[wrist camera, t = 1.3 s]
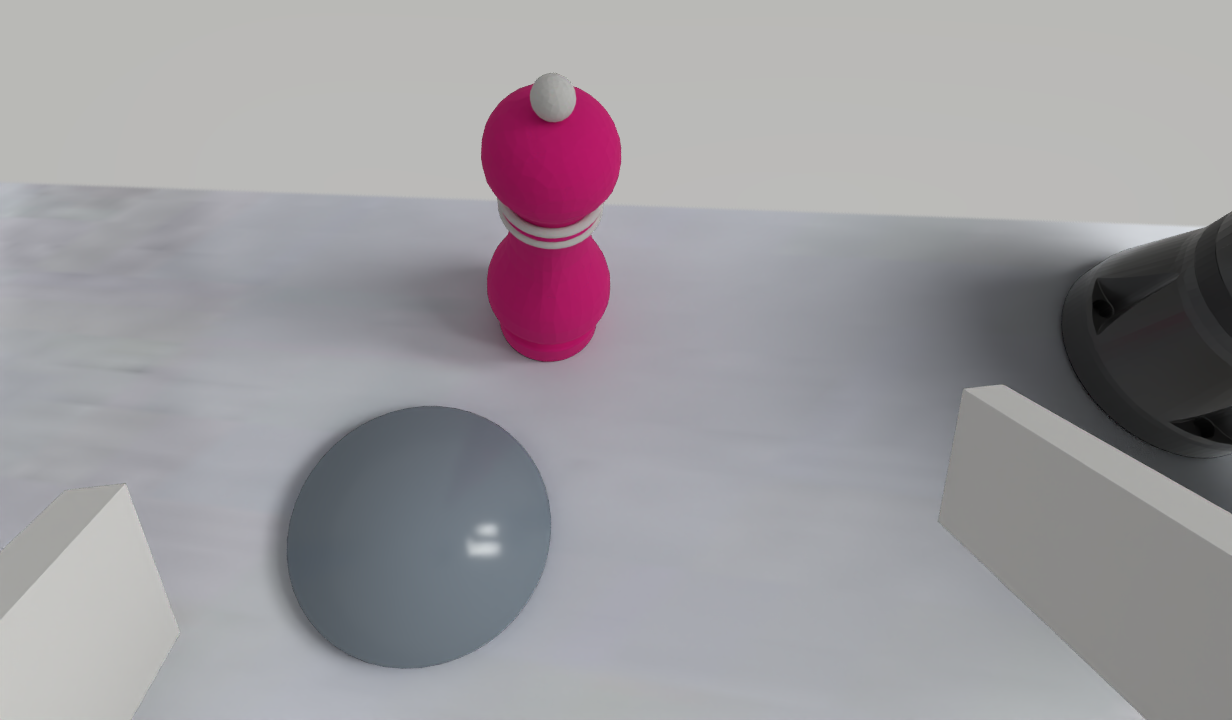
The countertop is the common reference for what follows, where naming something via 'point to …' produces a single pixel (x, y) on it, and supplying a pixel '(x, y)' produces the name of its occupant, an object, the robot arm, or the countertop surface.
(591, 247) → the pepper mill
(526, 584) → the saucer
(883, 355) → the countertop surface
